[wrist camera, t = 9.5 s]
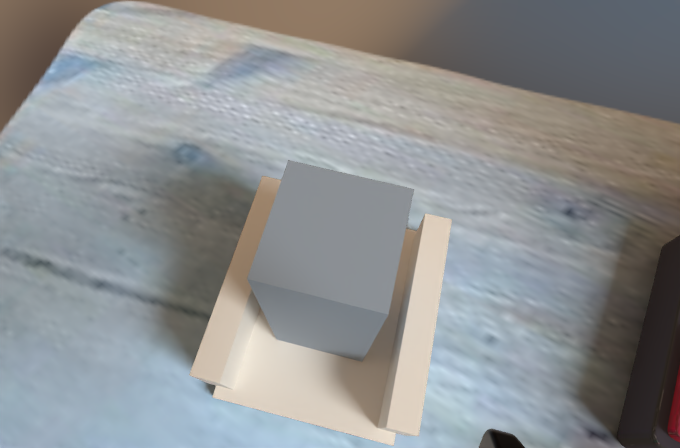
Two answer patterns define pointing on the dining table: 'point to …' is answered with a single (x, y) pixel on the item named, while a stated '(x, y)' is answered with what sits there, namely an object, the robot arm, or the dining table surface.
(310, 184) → the grey rectangular prism
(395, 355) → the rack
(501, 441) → the robot arm
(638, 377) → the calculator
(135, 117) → the dining table surface
